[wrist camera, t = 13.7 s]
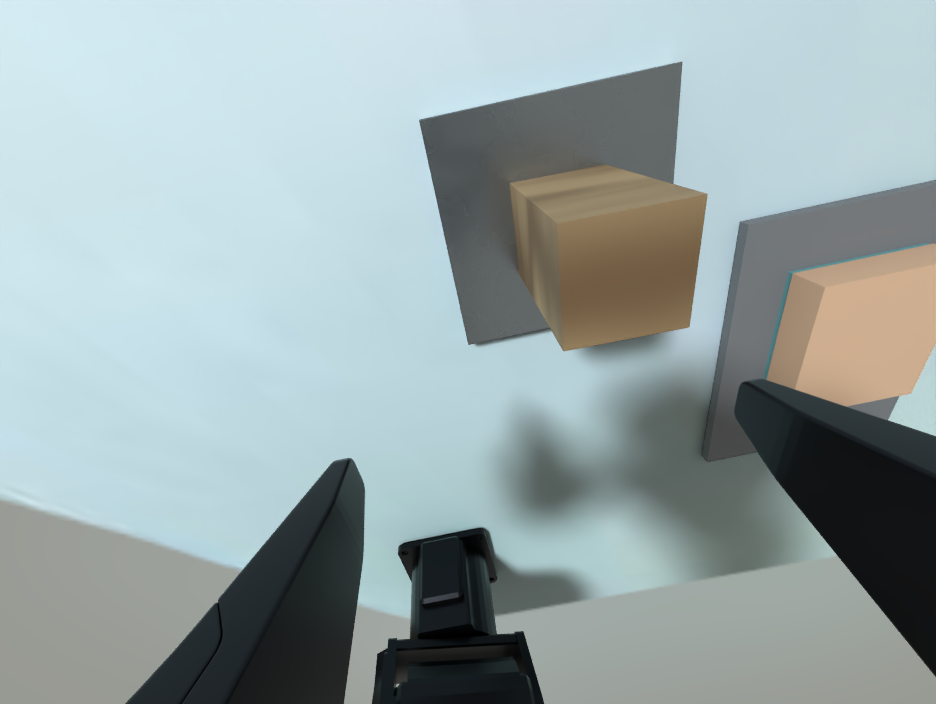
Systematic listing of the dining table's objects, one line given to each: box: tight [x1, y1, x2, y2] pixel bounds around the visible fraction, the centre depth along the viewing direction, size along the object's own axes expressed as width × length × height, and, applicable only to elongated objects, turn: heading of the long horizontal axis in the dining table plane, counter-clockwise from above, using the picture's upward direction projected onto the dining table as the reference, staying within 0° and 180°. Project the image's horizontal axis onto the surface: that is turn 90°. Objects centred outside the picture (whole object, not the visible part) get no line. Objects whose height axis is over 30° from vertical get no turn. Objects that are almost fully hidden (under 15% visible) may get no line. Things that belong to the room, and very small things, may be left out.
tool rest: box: [419, 62, 682, 345], centre depth 18 cm, size 10×10×1 cm
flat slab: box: [763, 243, 936, 406], centre depth 21 cm, size 2×7×8 cm
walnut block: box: [509, 164, 707, 351], centre depth 15 cm, size 4×4×7 cm
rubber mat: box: [702, 180, 936, 462], centre depth 23 cm, size 16×12×1 cm
